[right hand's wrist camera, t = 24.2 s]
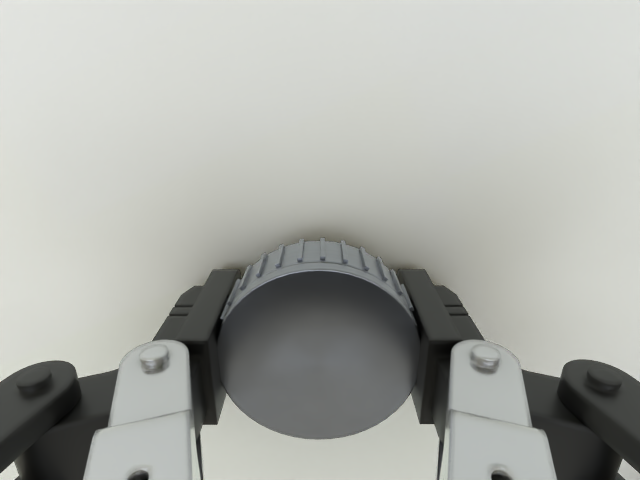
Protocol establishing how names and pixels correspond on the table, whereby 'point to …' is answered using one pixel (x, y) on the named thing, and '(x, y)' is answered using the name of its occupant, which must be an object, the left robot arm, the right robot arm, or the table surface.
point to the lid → (318, 341)
